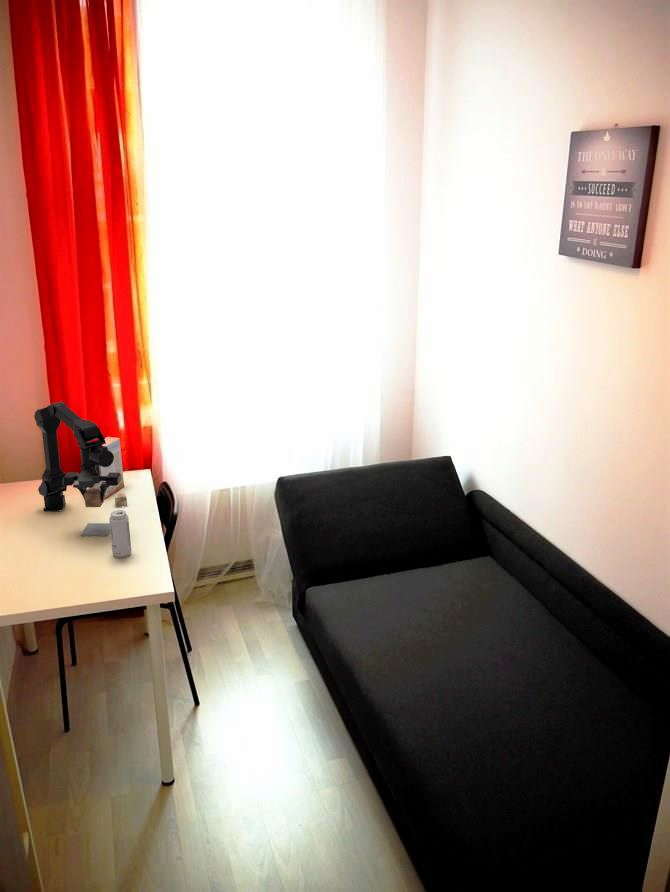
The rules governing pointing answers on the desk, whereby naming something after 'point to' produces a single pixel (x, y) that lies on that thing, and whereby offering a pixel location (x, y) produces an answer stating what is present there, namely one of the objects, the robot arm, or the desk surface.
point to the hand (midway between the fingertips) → (94, 501)
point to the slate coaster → (96, 529)
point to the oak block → (120, 499)
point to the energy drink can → (120, 534)
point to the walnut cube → (93, 497)
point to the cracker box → (112, 465)
